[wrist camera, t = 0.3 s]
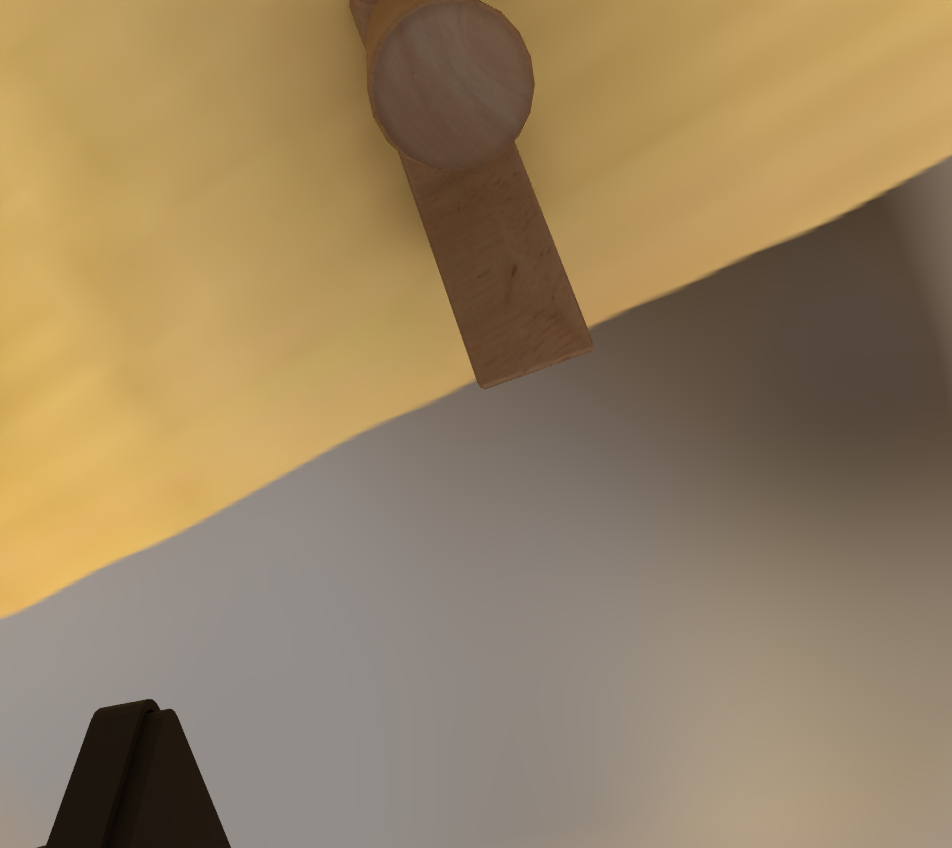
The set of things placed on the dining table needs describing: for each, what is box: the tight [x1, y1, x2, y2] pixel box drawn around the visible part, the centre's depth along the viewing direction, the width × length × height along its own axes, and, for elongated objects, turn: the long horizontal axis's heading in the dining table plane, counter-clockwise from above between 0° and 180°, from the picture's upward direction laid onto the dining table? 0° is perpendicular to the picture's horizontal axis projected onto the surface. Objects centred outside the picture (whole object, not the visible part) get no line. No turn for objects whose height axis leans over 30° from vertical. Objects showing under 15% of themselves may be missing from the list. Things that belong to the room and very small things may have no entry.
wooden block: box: [350, 0, 593, 389], centre depth 29 cm, size 4×11×18 cm, turn 19°
